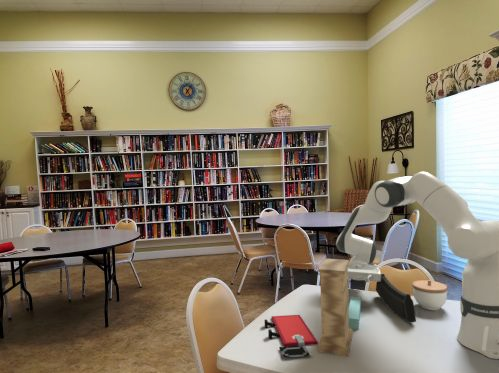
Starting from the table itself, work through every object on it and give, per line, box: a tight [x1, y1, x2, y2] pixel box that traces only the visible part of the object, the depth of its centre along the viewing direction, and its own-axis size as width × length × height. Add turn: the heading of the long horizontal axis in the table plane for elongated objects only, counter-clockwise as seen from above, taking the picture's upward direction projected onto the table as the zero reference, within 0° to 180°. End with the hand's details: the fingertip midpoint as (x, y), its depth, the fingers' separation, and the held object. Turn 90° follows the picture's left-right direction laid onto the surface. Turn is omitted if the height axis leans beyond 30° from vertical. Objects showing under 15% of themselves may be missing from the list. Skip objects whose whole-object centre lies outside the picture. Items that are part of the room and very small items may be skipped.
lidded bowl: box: [411, 279, 448, 311], centre depth 136 cm, size 13×13×11 cm
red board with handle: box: [264, 314, 319, 359], centre depth 115 cm, size 30×3×15 cm
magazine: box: [375, 273, 417, 324], centre depth 134 cm, size 17×3×30 cm
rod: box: [348, 296, 362, 331], centre depth 129 cm, size 4×22×4 cm, turn 159°
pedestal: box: [317, 258, 353, 357], centre depth 109 cm, size 9×15×26 cm, turn 158°
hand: (355, 279), depth 139 cm, fingers open, 8 cm apart
